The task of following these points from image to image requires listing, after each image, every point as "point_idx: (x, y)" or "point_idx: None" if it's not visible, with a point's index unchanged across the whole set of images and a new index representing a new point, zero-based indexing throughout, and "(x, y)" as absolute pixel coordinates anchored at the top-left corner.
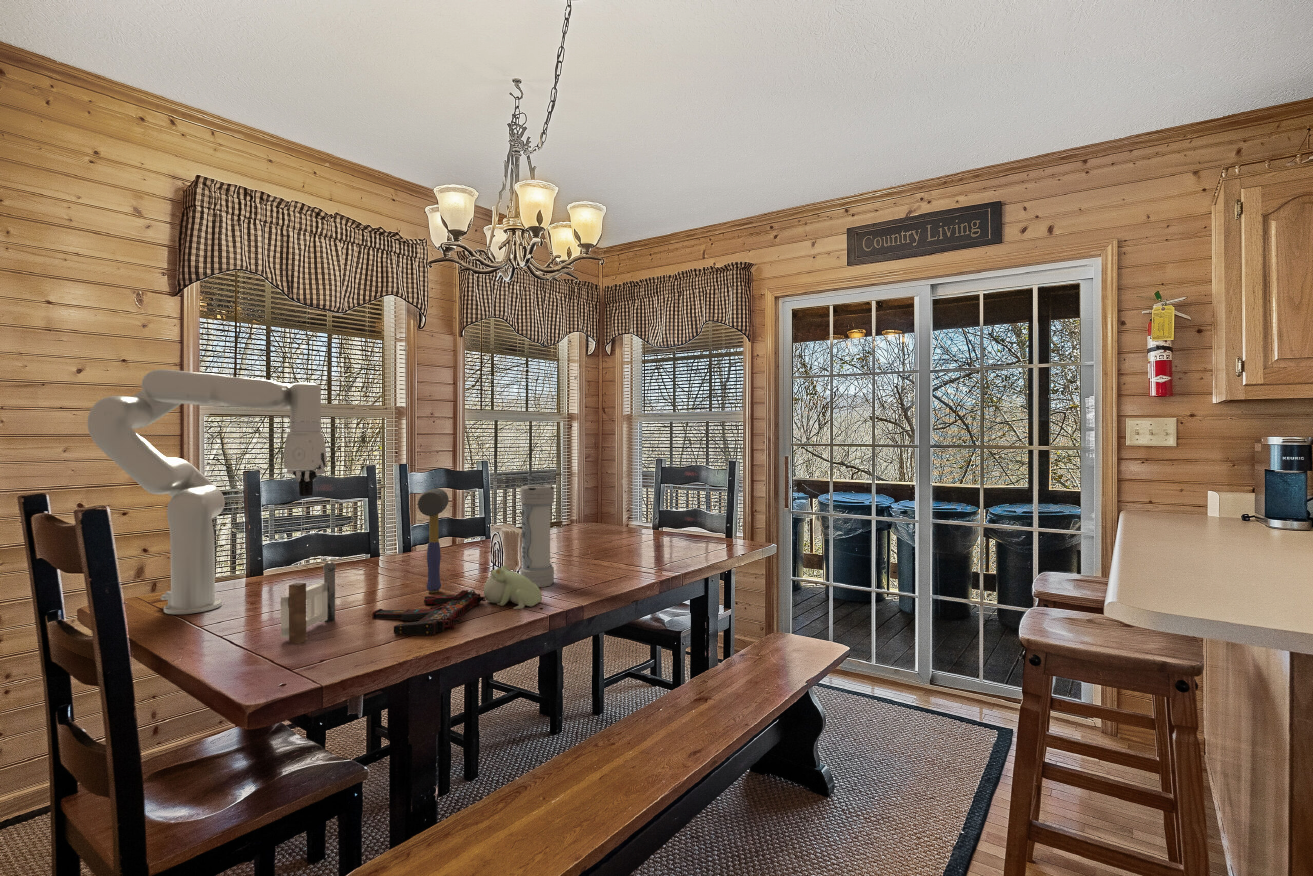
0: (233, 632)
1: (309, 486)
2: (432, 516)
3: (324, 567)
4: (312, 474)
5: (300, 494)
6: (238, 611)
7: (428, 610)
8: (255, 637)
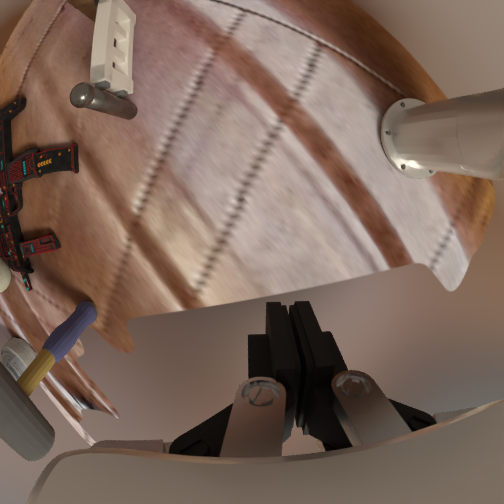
0: (241, 26)
1: (249, 365)
2: (17, 381)
3: (85, 82)
4: (190, 440)
5: (301, 303)
6: (333, 126)
7: (13, 172)
8: (188, 18)
